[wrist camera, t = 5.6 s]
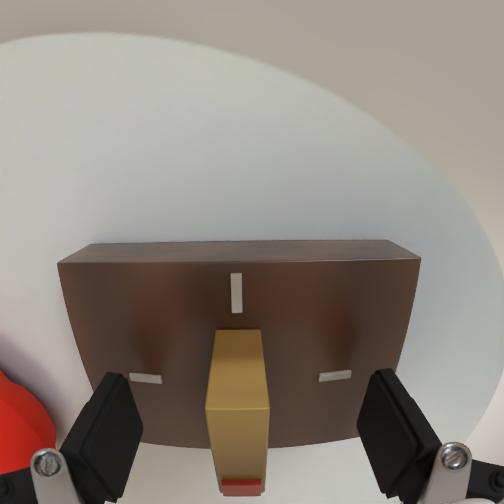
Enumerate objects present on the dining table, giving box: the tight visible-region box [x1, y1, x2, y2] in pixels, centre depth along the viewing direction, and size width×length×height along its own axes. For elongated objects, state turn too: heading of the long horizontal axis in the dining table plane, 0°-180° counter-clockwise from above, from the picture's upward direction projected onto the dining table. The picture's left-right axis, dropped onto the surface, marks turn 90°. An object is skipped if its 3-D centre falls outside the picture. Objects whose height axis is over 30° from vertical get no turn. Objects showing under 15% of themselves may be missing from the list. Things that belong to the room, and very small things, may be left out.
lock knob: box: [205, 329, 270, 496], centre depth 9 cm, size 5×2×4 cm, turn 0°
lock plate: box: [57, 240, 421, 449], centre depth 12 cm, size 14×10×3 cm
